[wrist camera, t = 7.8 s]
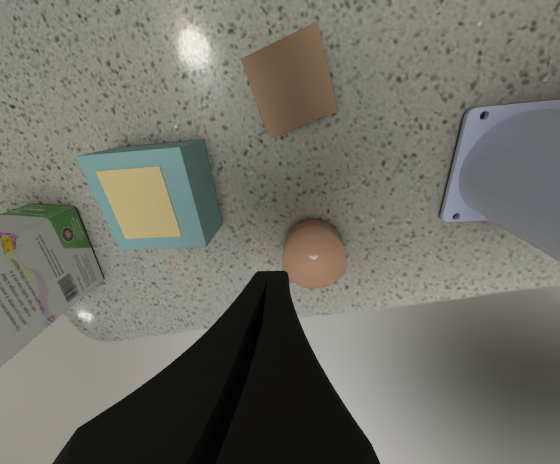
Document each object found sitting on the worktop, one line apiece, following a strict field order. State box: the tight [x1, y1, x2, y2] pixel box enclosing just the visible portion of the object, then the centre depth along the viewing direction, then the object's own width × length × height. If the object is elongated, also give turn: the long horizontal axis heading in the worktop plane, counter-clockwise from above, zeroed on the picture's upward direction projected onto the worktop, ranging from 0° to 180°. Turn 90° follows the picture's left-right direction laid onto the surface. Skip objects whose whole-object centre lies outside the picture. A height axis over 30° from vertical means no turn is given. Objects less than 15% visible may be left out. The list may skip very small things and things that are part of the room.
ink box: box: [0, 204, 103, 367], centre depth 18 cm, size 8×5×12 cm, turn 178°
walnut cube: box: [241, 21, 338, 138], centre depth 14 cm, size 4×4×4 cm
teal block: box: [75, 140, 223, 250], centre depth 18 cm, size 4×7×7 cm
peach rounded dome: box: [283, 219, 347, 288], centre depth 20 cm, size 5×5×3 cm
